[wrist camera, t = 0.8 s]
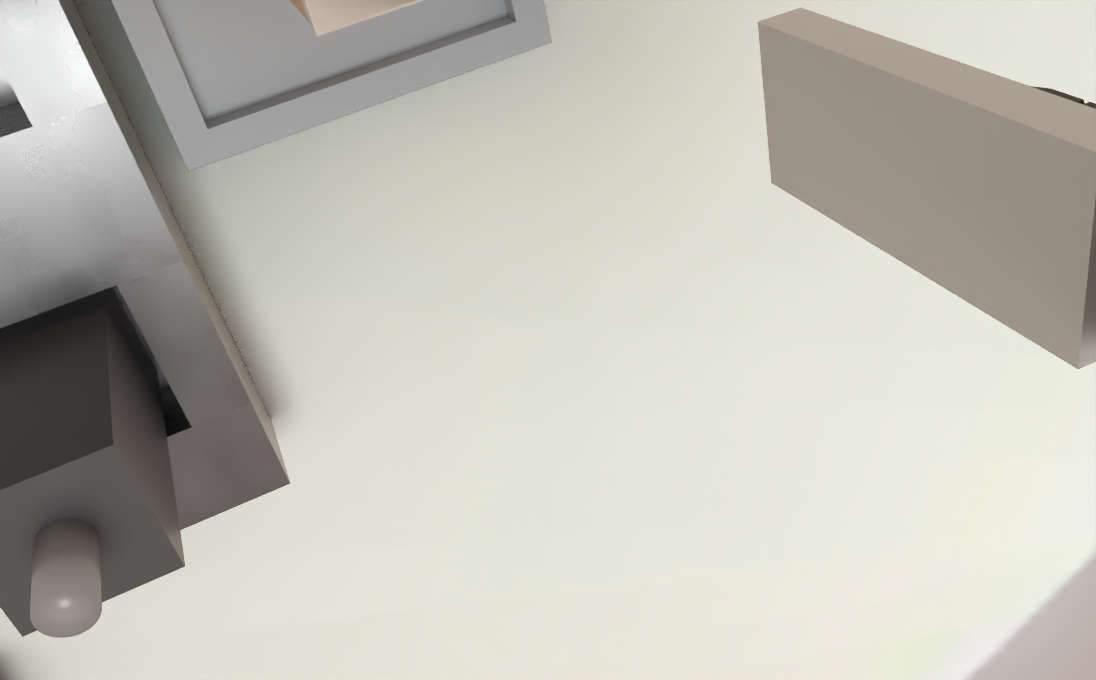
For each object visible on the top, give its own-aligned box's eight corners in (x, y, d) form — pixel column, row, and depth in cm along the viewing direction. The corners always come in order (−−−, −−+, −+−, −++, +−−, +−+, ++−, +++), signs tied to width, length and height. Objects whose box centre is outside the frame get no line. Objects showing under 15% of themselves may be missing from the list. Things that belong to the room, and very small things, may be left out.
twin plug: (-32, 317, 31) (-81, 589, 21) (102, 267, 32) (117, 506, 22) (34, 420, 33) (18, 711, 23) (157, 372, 34) (194, 632, 24)
